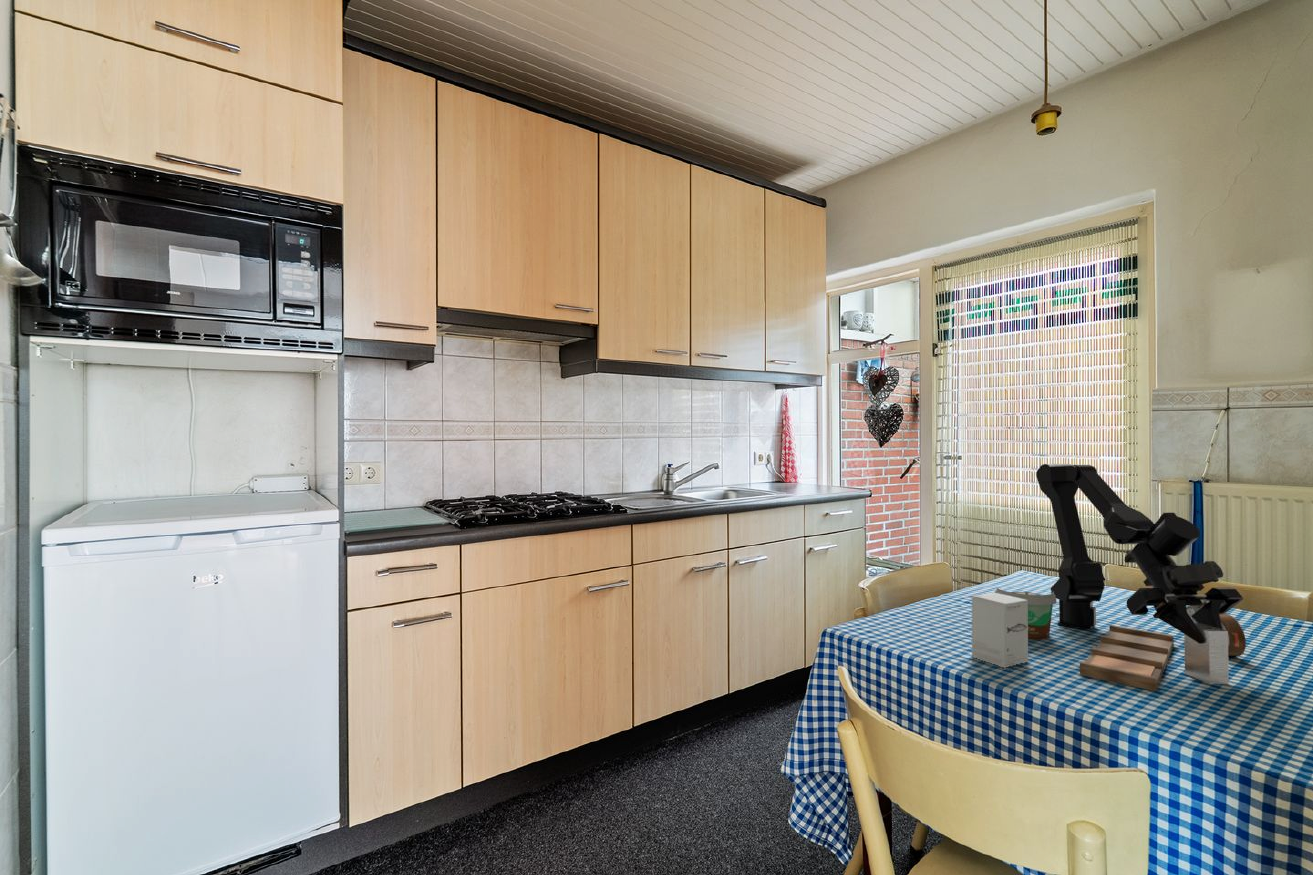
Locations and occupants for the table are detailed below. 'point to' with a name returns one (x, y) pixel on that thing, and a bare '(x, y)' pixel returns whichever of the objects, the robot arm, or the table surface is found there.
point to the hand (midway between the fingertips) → (1212, 642)
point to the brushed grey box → (1208, 655)
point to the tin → (1229, 633)
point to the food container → (1036, 612)
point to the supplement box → (1000, 629)
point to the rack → (1129, 657)
